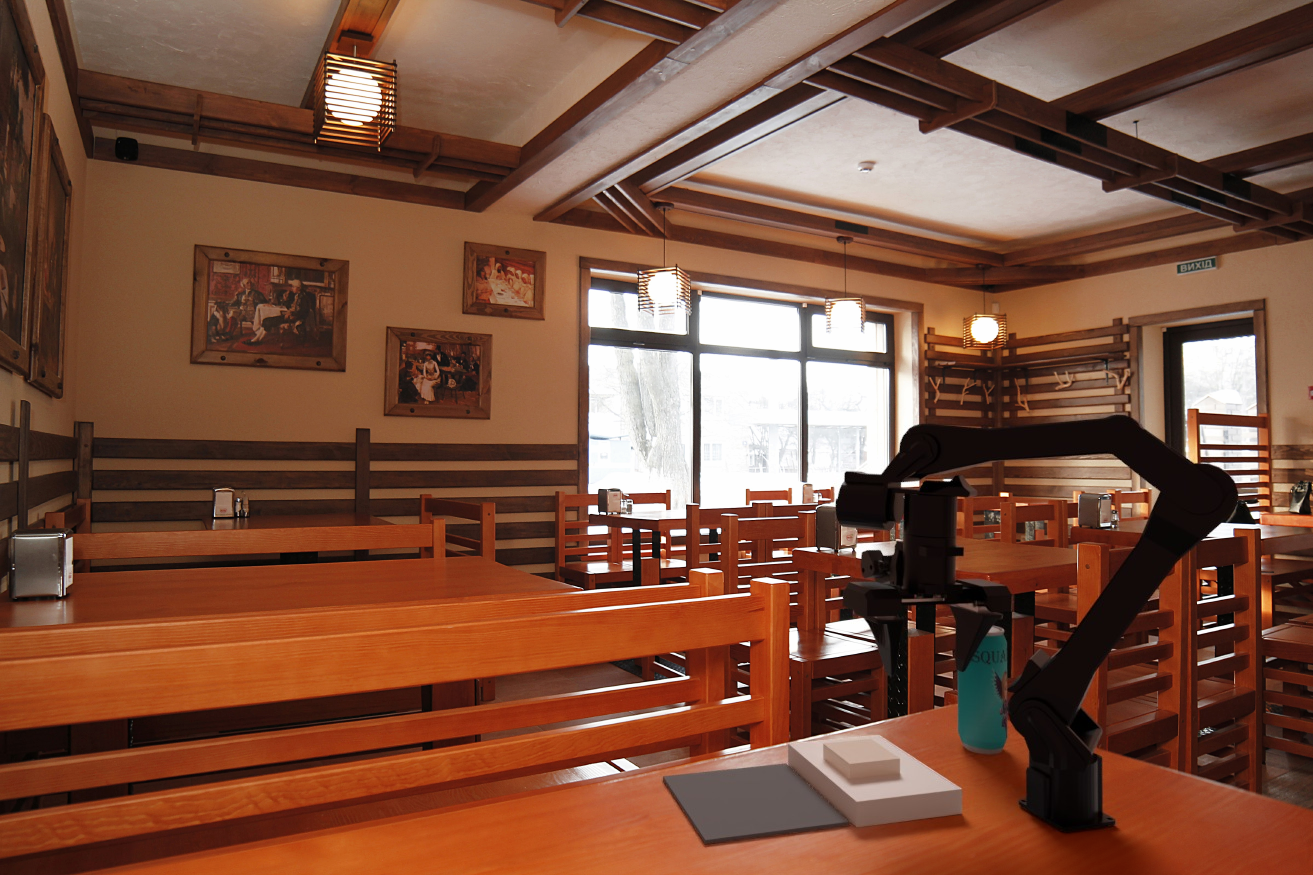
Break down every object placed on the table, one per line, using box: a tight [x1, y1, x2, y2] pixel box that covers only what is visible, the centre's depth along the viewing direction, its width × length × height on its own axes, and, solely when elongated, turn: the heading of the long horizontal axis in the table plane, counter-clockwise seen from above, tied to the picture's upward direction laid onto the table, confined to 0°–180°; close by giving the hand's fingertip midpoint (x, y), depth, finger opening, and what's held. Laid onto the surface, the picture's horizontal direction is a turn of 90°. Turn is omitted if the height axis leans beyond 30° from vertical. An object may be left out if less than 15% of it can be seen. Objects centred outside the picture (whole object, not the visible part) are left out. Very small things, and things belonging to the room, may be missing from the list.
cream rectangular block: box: [823, 739, 900, 779], centre depth 86 cm, size 6×6×2 cm
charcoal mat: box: [662, 763, 851, 845], centre depth 82 cm, size 15×15×1 cm
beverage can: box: [957, 625, 1008, 756], centre depth 98 cm, size 6×6×15 cm
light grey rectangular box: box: [787, 734, 963, 828], centre depth 86 cm, size 12×16×2 cm
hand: (925, 672), depth 88 cm, fingers open, 9 cm apart
